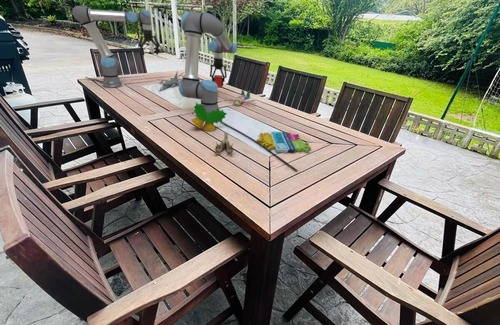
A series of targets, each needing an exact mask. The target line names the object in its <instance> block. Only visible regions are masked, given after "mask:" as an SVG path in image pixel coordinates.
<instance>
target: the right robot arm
mask: <svg viewBox="0 0 500 325" xmlns="http://www.w3.org/2000/svg"><path fill="white" fill-rule="evenodd" d="M180 26H181V30H182V31H183V34H184V35H185V37H186V41H185V43H186V44H185V64H184V65H185V66H184V75H183V76H182V78H181V79H182V80H179V82H180V83H178V92H179V93H180V95H181V97H184V98H187V99H195V100H200V104H201V106H204V109H206V112H208V113H211V112H212V110H214V111H216V110H217V109H219V111H221V110H220V107H219V102H218V99H219V98H218V97H219V88H218V86H217V83H215V82H214V75H216V71H217V70H219V71H220V74H221V76H222V87H223V86H224V83H225V81H226V80H225V79H226V78H227V77H228V76H227V75H228V74H227V65H224V59H223V58H224V54H226V53H227V54H237V50H238V45H237V43H236V42H232V41H231V39H230V37H229V36H228V35H227V33H226V31H225V30H224V28H225V27H224V25H223V23H222V22H221V21H220V19H218V18H217V17H216V16H215V15H213V14H211V13H209V12H201V11H185V12H184V13H183V14H182V16H181V19H180ZM203 34H210V35H212V36H213V37H214V38H213V40H211V41H210V42H208V44H207V50H208V51H209V52H211V53H213V64H210V67H209V68H210V70H209V77H210V78H211V80H210V79H200V77H199V62H200V61H199V58H200V57H199V56H200V44H201V42H200V41H201V40H200V39H201V38H202V37H203ZM213 68H214V70H213ZM223 70H224V71H223ZM208 113H207V115H208ZM219 122H220V123H221V124H223V125H225V126H226V127H228V128H230V129H232V130H234V131H235V132H238V133H240V134H241V135H243V136H245V137H246V138H248V139H249V140H251V141H253V142H255V144H257V145H258V146H260V147H261V148H263V149H265V150H266V151H267V152H269V153H270V154H272V155H273V156H275V158H277V159H279V160H280V161H281V162H282V163H284V164H285V165H287V166H288V167H290V168H291V169H293V170H294V171H295V172H297V171H298V169H297V168H296V167H294V166H293V165H291V164H289V163H288V162H286V161H285V160H284V159H283V158H281V157H280V156H278V155H277V154H275V153H274V152H273V151H272V150H268V148H266V147H265V146H262V143H258V142H257V140H256V139H253V138H252V137H250V136H249V135H248V134H246V133H244V132H242V131H240V130H238V129H236V128H234V127H233V126H231V125H229V124H227V123H225V122H223V121H222V122H221V121H219Z"/></svg>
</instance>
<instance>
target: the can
mask: <svg viewBox="0 0 500 325" xmlns="http://www.w3.org/2000/svg"><path fill="white" fill-rule="evenodd" d="M222 78H223V76H222V74H214V82H215V83H217V86H218V89H220V88H223V86H222Z"/></svg>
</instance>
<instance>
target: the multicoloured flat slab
mask: <svg viewBox="0 0 500 325" xmlns="http://www.w3.org/2000/svg"><path fill="white" fill-rule="evenodd" d="M299 136H300V135H299V134H298V133H296V134H294V133H291V132H287V131H270V132H264V133H263V132H260V133H259V139H258V138H257V139H256V141H257V142H258V143H260V144H261V145H262V146H264V147H266V148H267V149H268V150H270V151H272V150H273V149H275V152H276V153H283V154H285V153H287V154H288V153H290V154H293V153H296V152H298V153H301V152H305V153H310V151H311V150H312V149H311V148H312V146H309V142H304V141H303V139H302V138H299ZM262 146H261V147H262ZM268 150H267V151H268Z"/></svg>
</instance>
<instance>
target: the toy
mask: <svg viewBox="0 0 500 325" xmlns="http://www.w3.org/2000/svg"><path fill="white" fill-rule="evenodd" d="M240 92H241V93H240V95H238V96H237V97H235V99H233V98H230V99H228V98H227V97H226V96H225V97H224V98H223V101H224V102H233V103H232V104H233V105H235V106H242V103H243V104H247V105H252V106H255V105H256V104H257V103H256V102H254V101H253V100H252V101H251V102H250V101H248V100H246V99H248V98H250V97H251V90H250V89H249V90H248V91H247V92H246V93H245V91H244V89H242V90H241V91H240Z"/></svg>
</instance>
